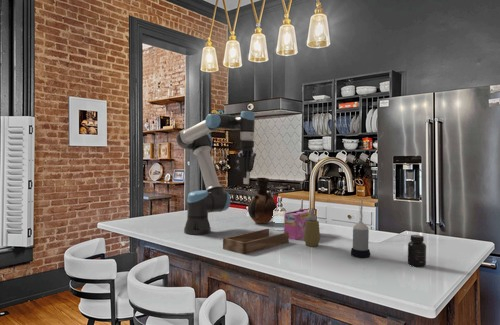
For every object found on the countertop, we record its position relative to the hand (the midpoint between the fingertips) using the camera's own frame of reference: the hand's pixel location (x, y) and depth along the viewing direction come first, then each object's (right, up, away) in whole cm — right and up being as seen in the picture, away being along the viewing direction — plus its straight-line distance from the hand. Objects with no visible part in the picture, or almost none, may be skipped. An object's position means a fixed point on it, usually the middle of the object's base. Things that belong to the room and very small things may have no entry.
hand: (246, 183), depth 197 cm
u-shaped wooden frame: (+5, -29, -18) cm, 35 cm away
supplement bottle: (+70, -31, -48) cm, 90 cm away
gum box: (+30, -30, +6) cm, 43 cm away
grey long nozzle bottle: (+51, -30, -34) cm, 69 cm away
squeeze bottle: (+33, -30, -16) cm, 47 cm away
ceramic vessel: (+10, -29, +44) cm, 53 cm away
